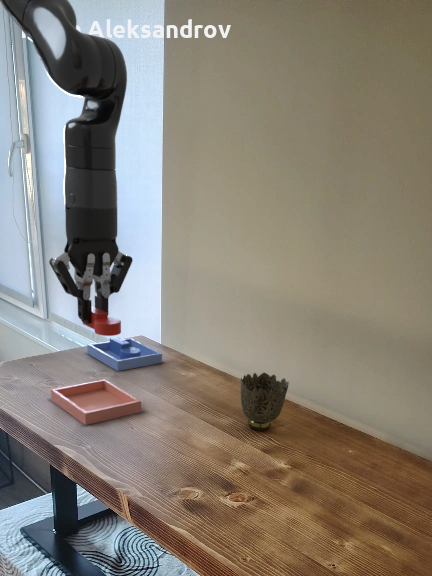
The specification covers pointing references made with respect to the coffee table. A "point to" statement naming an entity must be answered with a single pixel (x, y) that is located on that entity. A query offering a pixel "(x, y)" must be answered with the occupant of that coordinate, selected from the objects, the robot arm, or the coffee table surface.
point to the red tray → (95, 401)
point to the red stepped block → (104, 323)
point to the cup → (262, 399)
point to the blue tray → (113, 360)
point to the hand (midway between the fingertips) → (93, 321)
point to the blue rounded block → (123, 348)
